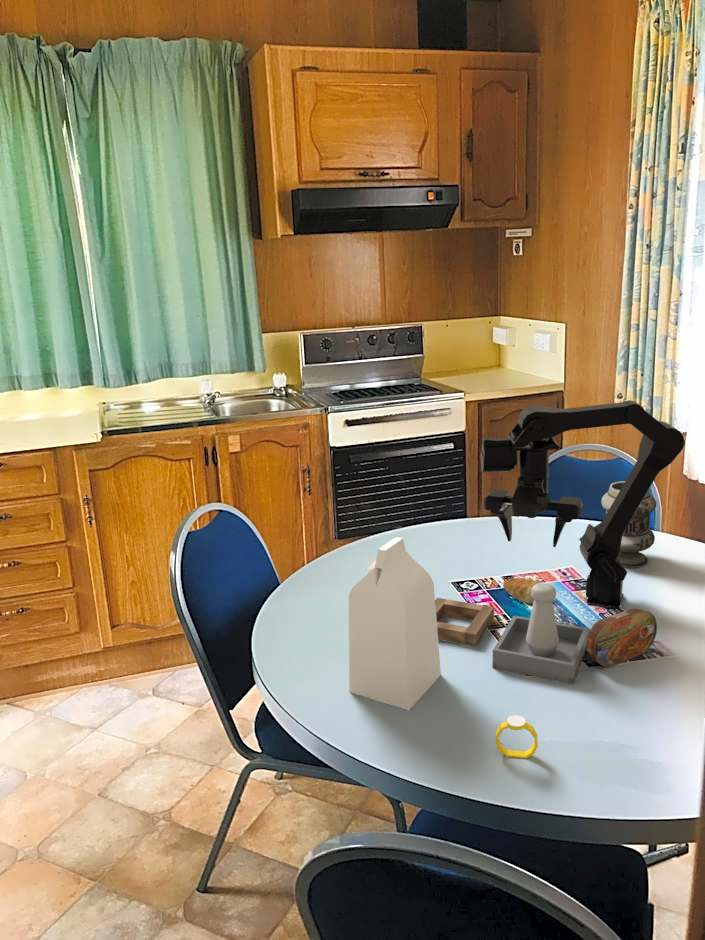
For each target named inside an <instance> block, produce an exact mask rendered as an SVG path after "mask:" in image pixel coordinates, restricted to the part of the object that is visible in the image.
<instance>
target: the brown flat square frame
mask: <svg viewBox="0 0 705 940" xmlns="http://www.w3.org/2000/svg"><path fill="white" fill-rule="evenodd" d="M435 606H436V618H437V631H438V641H439V640H440V641H445V642H449V643H450V642H451V643H454V644H455V643H456V644H461V645H465V646H472V647H477V645H478V644H479V642H480V641H481V639H482V638H483V636H484V635H485V633H486V632H487V630H488V628H489V627H490V626H491V624H492V622H493V621H494V619H495V607H494V606H488V605H484V604H483V605H482V604H476V603H470V602H466V601H459V600H453V599H448V598H447V599H446V598H442V597H437V598H435ZM443 615H444V616H446V615H448V617H452V616H453V618H458V617H459V619H465V620H469V621H471V622H470V624H469V625H468V626H464V625H458V624H452V623H447V622H442V621H441V620H442V618H443V617H444V616H443Z"/></svg>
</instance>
